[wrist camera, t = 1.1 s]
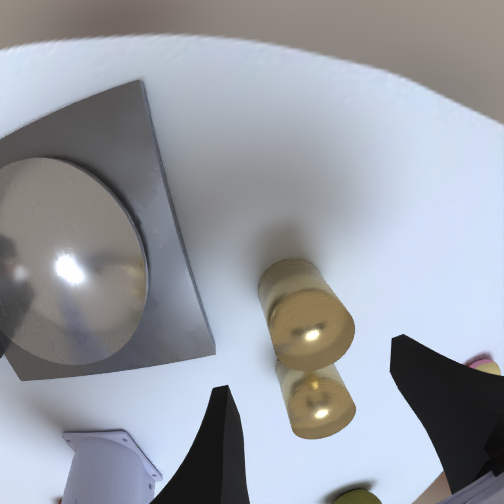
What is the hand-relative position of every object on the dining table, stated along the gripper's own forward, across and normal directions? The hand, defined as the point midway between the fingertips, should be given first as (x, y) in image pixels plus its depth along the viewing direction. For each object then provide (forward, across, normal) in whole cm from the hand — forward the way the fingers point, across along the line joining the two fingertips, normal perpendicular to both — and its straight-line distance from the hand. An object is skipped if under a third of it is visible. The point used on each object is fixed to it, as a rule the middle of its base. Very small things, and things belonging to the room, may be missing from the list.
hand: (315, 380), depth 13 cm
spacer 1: (+10, -1, +1) cm, 10 cm away
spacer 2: (+10, -1, +8) cm, 12 cm away
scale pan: (+8, +14, -5) cm, 17 cm away
